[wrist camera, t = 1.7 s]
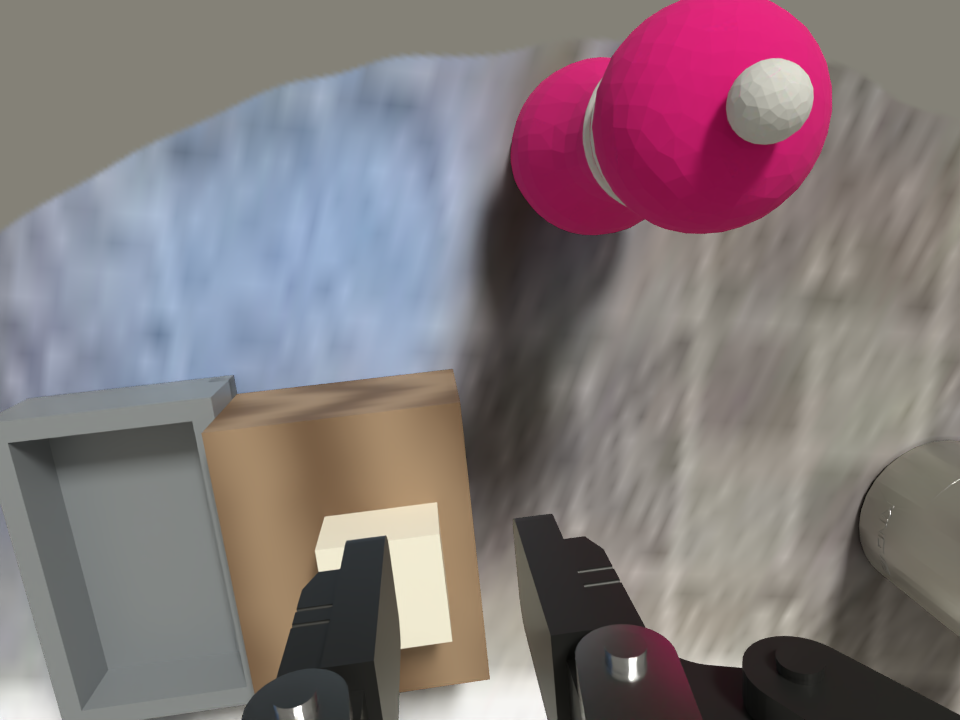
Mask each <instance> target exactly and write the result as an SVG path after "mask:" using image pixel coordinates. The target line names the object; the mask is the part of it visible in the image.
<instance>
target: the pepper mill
mask: <svg viewBox="0 0 960 720" xmlns="http://www.w3.org/2000/svg"><path fill="white" fill-rule="evenodd" d="M831 113H832V86H831V81H830V76H829V72H828V67H827V63H826V60H825V58H824V56H823V54H822V52H821V50H820V48H819V45H818V43H817V42H816V41H815V39H814V38H813V36H812V35H811V33H810V32H809V30H808V29H807V28H806V27H805V26H804V25H803V24H802V23H801V22H800V21H798V20H797V19H796V18H795V17H794V16H793V15H791V14H790V13H789V12H787V11H786V10H785V9H782V8H781V7H779V6H778V5H776V4H774V3H773V2H771V1H768V0H680V1H678V2H676V3H674V4H671V5H669V6H667V7H665V8H663V9H661V10H660V11H658V12H657V13H655V14H653V15H652V16H651V17H649V18H647V19H646V20H645V21H644V22H643V23H642V24H640V25H639V26H638V27H637V28H636V29H635V30H634V31H633V32H632V33H631V34H630V35H629V36H628V37H627V38H626V39H625V41H624V42H623V43H622V44H621V45H620V47H619V48H618V49H617V51H616V52H615V53H614V55H613V56H612V57H611V58H604V57H599V58H590V59H585V60H582V61H579V62H575V63H572V64H570V65H568V66H566V67H564V68H562V69H560V70H558V71H556V72H554V73H553V74H552V75H550V76H549V77H548V78H546V79H545V80H544V81H542V82H541V83H540V84H539V85H538V87H537V88H536V89H535V90H534V91H533V92H532V93H531V94H530V96H529V97H528V99H527V101H526V102H525V104H524V105H523V107H522V109H521V112H520V114H519V116H518V118H517V121H516V125H515V129H514V133H513V137H512V146H511V166H512V171H513V176H514V179H515V182H516V184H517V186H518V188H519V190H520V191H521V193H522V194H523V196H524V197H525V199H526V200H527V201H528V203H529V204H530V205H531V207H532V208H533V209H534V210H535V211H536V212H537V213H538V214H539V215H540V216H541V217H543V218H544V219H545V220H546V221H548V222H549V223H551V224H553V225H554V226H556V227H558V228H560V229H563V230H565V231H568V232H571V233H576V234H582V235H601V234H608V233H615V232H618V231H622V230H625V229H628V228H631V227H632V226H634V225H636V224H637V223H639V222H641V221H642V220H644V219H646V220H647V221H649V222H651V223H652V224H654V225H657V226H659V227H662V228H664V229H668V230H673V231H677V232H682V233H695V234H706V233H717V232H724V231H728V230H731V229H735V228H739V227H742V226H744V225H746V224H749V223H751V222H753V221H756V220H758V219H760V218H762V217H764V216H765V215H767V214H768V213H770V212H771V211H773V210H774V209H775V208H777V207H778V206H780V205H781V204H782V203H783V202H784V201H785V200H786V199H787V198H788V197H789V196H791V195H792V194H793V193H794V192H795V191H796V190H797V189H798V188H799V186H800V185H801V184H802V182H803V181H804V180H805V178H806V177H807V176H808V174H809V173H810V171H811V169H812V168H813V166H814V164H815V162H816V160H817V159H818V157H819V155H820V153H821V150H822V147H823V145H824V142H825V139H826V136H827V134H828V128H829V123H830V118H831Z"/></svg>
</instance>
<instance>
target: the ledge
mask: <svg viewBox="0 0 960 720" xmlns="http://www.w3.org/2000/svg"><path fill="white" fill-rule="evenodd" d="M201 434H202V439H203V444H204V449H205V454H206V458H207V463H208V468H209V473H210V478H211V483H212V488H213V493H214V498H215V503H216V507H217V512H218V517H219V522H220V527H221V532H222V537H223V542H224V547H225V552H226V557H227V561H228V566H229V571H230V576H231V581H232V586H233V591H234V596H235V601H236V606H237V611H238V615H239V620H240V625H241V630H242V635H243V640H244V645H245V650H246V655H247V660H248V664H249V669H250V674H251V679H252V684H253V689H254V694H255V693H256V692H257V691H258V690H260V689H261V688H262V687H263V686H265V685H266V684H267V683H269V682H271V681H272V680H274V679H276V677H277V674H278V670H279V667H280V664H281V660H282V657H283V653H284V650H285V646H286V643H287V639H288V636H289V633H290V629H291V628H292V622H293V619H294V615H295V612H297V609H296V608H297V605H298V602H299V598H300V595H301V591H302V589H303V588H304V587H305V586H306V585H307V584H308V583H309V582H310V580H311V579H312V578H313V577H314V576H315V575H316V574H317V573H318V566H317V560H316V554H315V548H316V545H317V541H318V538H319V534H320V531H321V527H322V524H323V520H324V517H326V516H334V515H342V514H350V513H357V512H365V511H373V510H381V509H388V508H396V507H404V506H412V505H419V504H427V503H435V502H437V506H438V514H439V522H440V531H441V539H442V547H443V556H444V564H445V572H446V581H447V589H448V597H449V608H450V619H451V631H452V642H446V643H439V644H432V645H425V646H418V647H411V648H404V649H401V653H400V683H399V693H400V692H407V691H413V690H420V689H427V688H434V687H441V686H447V685H454V684H461V683H468V682H475V681H481V680H488V679H490V676H489V667H488V658H487V648H486V639H485V630H484V620H483V611H482V602H481V592H480V583H479V574H478V564H477V555H476V546H475V536H474V527H473V518H472V509H471V499H470V490H469V481H468V471H467V462H466V453H465V443H464V434H463V425H462V415H461V406H460V400H459V395H458V391H457V386H456V382H455V377H454V373H453V369H449V370H440V371H432V372H423V373H414V374H406V375H397V376H389V377H380V378H371V379H363V380H354V381H345V382H337V383H328V384H319V385H311V386H302V387H294V388H285V389H276V390H268V391H259V392H250V393H242V394H237V395H236V396H235V397H234V398H233V399H232V400H231V401H230V403H229V404H228V405H227V406H226V407H225V408H224V409H223V410H222V411H221V412H220V413H219V415H218V416H217V417H216V418H215V419H214V420H213V421H212V422H211V423H210V424H209V425H208V427H207V428H206V429H205V430H204V431H203V432H202V433H201Z"/></svg>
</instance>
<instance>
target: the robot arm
mask: <svg viewBox="0 0 960 720" xmlns="http://www.w3.org/2000/svg"><path fill="white" fill-rule="evenodd" d="M859 531H860V541H861V544H862V547H863V550H864V553H865V555H866V557H867V558H868V560H869V561H870V563H871V565H872V566H873V567H874V568H875V569H876V570H878V571H879V572H880V573H881V574H882V575H883V576H884V577H886V578H887V579H888V580H889V581H891V582H892V583H893V584H894V585H896V586H897V587H898V588H899V589H901V590H902V591H903V592H904V593H905V594H907V595H908V596H909V597H910V598H912V599H913V600H914V601H915V602H917V603H918V604H919V605H920V606H922V607H923V608H924V609H925V610H926V611H927V612H929V613H930V614H931V615H932V616H934V617H935V618H936V619H937V620H939V621H940V622H941V623H942V624H944V625H945V626H946V627H947V628H949V629H950V630H951V631H952V632H954V633H955V634H956V635H957V636H959V637H960V441H951V440H945V441H937V442H931V443H928V444H925V445H922V446H918V447H916V448H914V449H912V450H910V451H908V452H906V453H905V454H903V455H901V456H900V457H898V458H897V459H896V460H895V461H893V462H892V463H891V464H890V465H888V466H887V467H886V468H885V470H884V471H883V472H882V473H881V474H880V475H879V476H878V478H877V479H876V480H875V482H874V483H873V485H872V487H871V488H870V490H869V492H868V493H867V496H866V498H865V501H864V504H863V506H862V509H861V515H860V522H859ZM513 533H514V544H515V554H516V565H517V576H518V587H519V597H520V605H521V612H522V618H523V624H524V629H525V633H526V637H527V641H528V645H529V648H530V652H531V656H532V660H533V664H534V668H535V672H536V676H537V680H538V684H539V688H540V692H541V696H542V700H543V703H544V707H545V711H546V715H547V719H548V720H960V715H959V714H957V713H955V712H953V711H951V710H949V709H947V708H945V707H943V706H941V705H939V704H938V703H936V702H934V701H932V700H930V699H928V698H926V697H924V696H922V695H920V694H918V693H917V692H915V691H913V690H911V689H909V688H907V687H905V686H903V685H901V684H899V683H897V682H895V681H894V680H892V679H890V678H888V677H886V676H884V675H882V674H880V673H878V672H876V671H874V670H873V669H871V668H869V667H867V666H865V665H863V664H861V663H859V662H857V661H855V660H853V659H852V658H850V657H848V656H846V655H844V654H842V653H840V652H838V651H836V650H834V649H832V648H830V647H828V646H826V645H824V644H822V643H819V642H816V641H813V640H809V639H805V638H800V637H792V636H776V637H770V638H765V639H762V640H759V641H757V642H755V643H753V644H752V645H751V646H750V647H748V649H747V650H746V651H745V653H744V656H743V662H742V668H736V667H724V666H713V665H704V664H698V663H694V662H690V661H687V660H684V659H681V658H679V657H678V654H677V652H676V650H675V648H674V646H673V645H672V644H671V643H670V642H669V641H668V640H667V639H666V638H665V637H664V636H662V635H660V634H659V633H657V632H655V631H653V630H651V629H648V628H645V626H644V624H643V622H642V620H641V618H640V616H639V614H638V613H637V611H636V609H635V607H634V605H633V603H632V601H631V600H630V598H629V596H628V594H627V592H626V590H625V588H624V587H623V585H622V583H620V580H619V577H618V575H617V574H616V572H615V570H614V569H613V568H612V564H611V562H610V561H609V559H608V557H607V555H606V553H605V551H604V549H602V548H601V547H600V546H598V545H597V544H595V543H594V542H592V541H591V540H589V539H588V538H586V537H585V536H584V537H576V538H569V539H563V537H562V535H561V532H560V530H559V528H558V525H557V523H556V521H555V519H554V516H553V515H552V514H546V515H538V516H531V517H523V518H515V519H513ZM296 609H297V612H295V615H294V619H293V622H292V628H291V629H290V633H289V636H288V639H287V643H286V646H285V650H284V653H283V657H282V660H281V664H280V667H279V670H278V674H277V677H276V679H274V680H272V681H271V682H269V683H267V684H266V685H265V686H263V687H262V688H261V689H260V690H258V691H257V692H256V693H255V694H254V695H253V696H252V698H251V699H250V700H249V702H248V703H247V705H246V707H245V709H244V712H243V715H242V720H398V714H399V683H400V653H401V640H400V624H399V614H398V607H397V599H396V592H395V585H394V578H393V571H392V564H391V557H390V550H389V544H388V539H387V536H386V535H385V536H377V537H370V538H362V539H354V540H347V541H346V543H345V547H344V552H343V557H342V562H341V567H340V569H336V570H329V571H321V572H318V573H317V574H316V575H315V576H314V577H313V578H312V579H311V580H310V582H309V583H308V584H307V585H306V586H305V587H304V588H303V589H302V591H301V595H300V598H299V602H298V605H297V608H296Z"/></svg>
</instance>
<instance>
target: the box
mask: <svg viewBox="0 0 960 720" xmlns="http://www.w3.org/2000/svg"><path fill="white" fill-rule="evenodd" d="M236 395H237V390H236V385H235V379H234V375H230V376H221V377H212V378H204V379H195V380H186V381H177V382H168V383H160V384H151V385H142V386H133V387H125V388H116V389H107V390H98V391H89V392H81V393H72V394H63V395H54V396H46V397H37V398H28V399H26V400H24V401H22V402H20V403H18V404H17V405H15V406H13V407H11V408H9V409H7V410H5V411H3V412H1V413H0V503H1V507H2V510H3V514H4V517H5V521H6V524H7V528H8V531H9V535H10V539H11V542H12V546H13V549H14V553H15V556H16V560H17V563H18V567H19V570H20V574H21V577H22V581H23V584H24V588H25V591H26V595H27V598H28V602H29V605H30V609H31V612H32V616H33V619H34V623H35V626H36V630H37V633H38V637H39V640H40V644H41V647H42V651H43V654H44V658H45V661H46V665H47V668H48V672H49V675H50V679H51V682H52V686H53V689H54V693H55V696H56V700H57V703H58V707H59V710H60V714H61V717H62V720H145V719H151V718H158V717H165V716H172V715H179V714H186V713H192V712H199V711H206V710H213V709H220V708H227V707H233V706H240V705H247V703H248V702H249V700H250V699H251V698H252V696H253V695H254V689H253V684H252V679H251V674H250V669H249V664H248V660H247V655H246V650H245V645H244V640H243V635H242V630H241V625H240V620H239V615H238V611H237V606H236V601H235V596H234V591H233V586H232V581H231V576H230V571H229V566H228V561H227V557H226V552H225V547H224V542H223V537H222V532H221V527H220V522H219V517H218V512H217V507H216V503H215V498H214V493H213V488H212V483H211V478H210V473H209V468H208V463H207V458H206V454H205V449H204V444H203V439H202V434H201V433H202V432H203V431H204V430H205V429H206V428H207V427H208V425H209V424H210V423H211V422H212V421H213V420H214V419H215V418H216V417H217V416H218V415H219V413H220V412H221V411H222V410H223V409H224V408H225V407H226V406H227V405H228V404H229V403H230V401H231V400H232V399H233V398H234V397H235V396H236Z"/></svg>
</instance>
